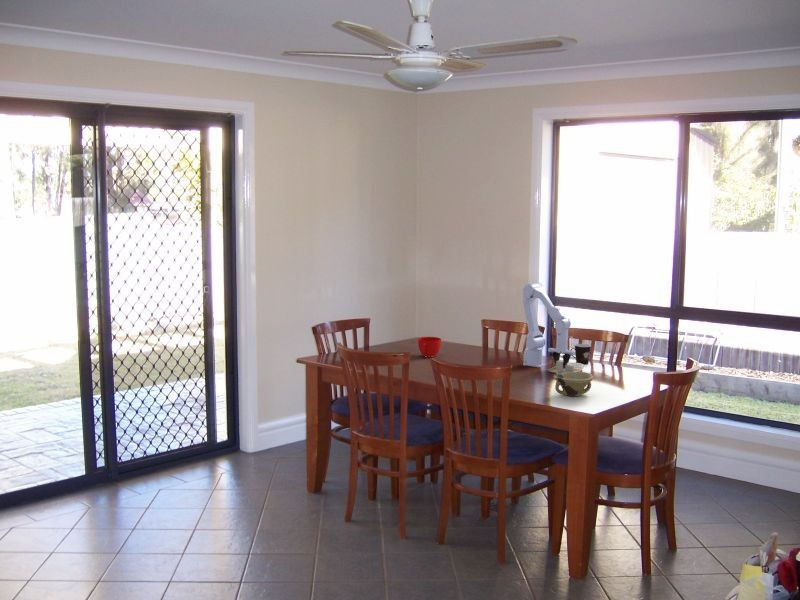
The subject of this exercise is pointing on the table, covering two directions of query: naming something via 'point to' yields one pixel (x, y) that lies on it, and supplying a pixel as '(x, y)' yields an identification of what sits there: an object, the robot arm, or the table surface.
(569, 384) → the bowl
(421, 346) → the ceramic cup
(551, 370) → the tray
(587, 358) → the coffee mug
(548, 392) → the table surface
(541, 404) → the table surface
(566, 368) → the stone
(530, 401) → the table surface
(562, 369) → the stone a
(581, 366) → the dish
